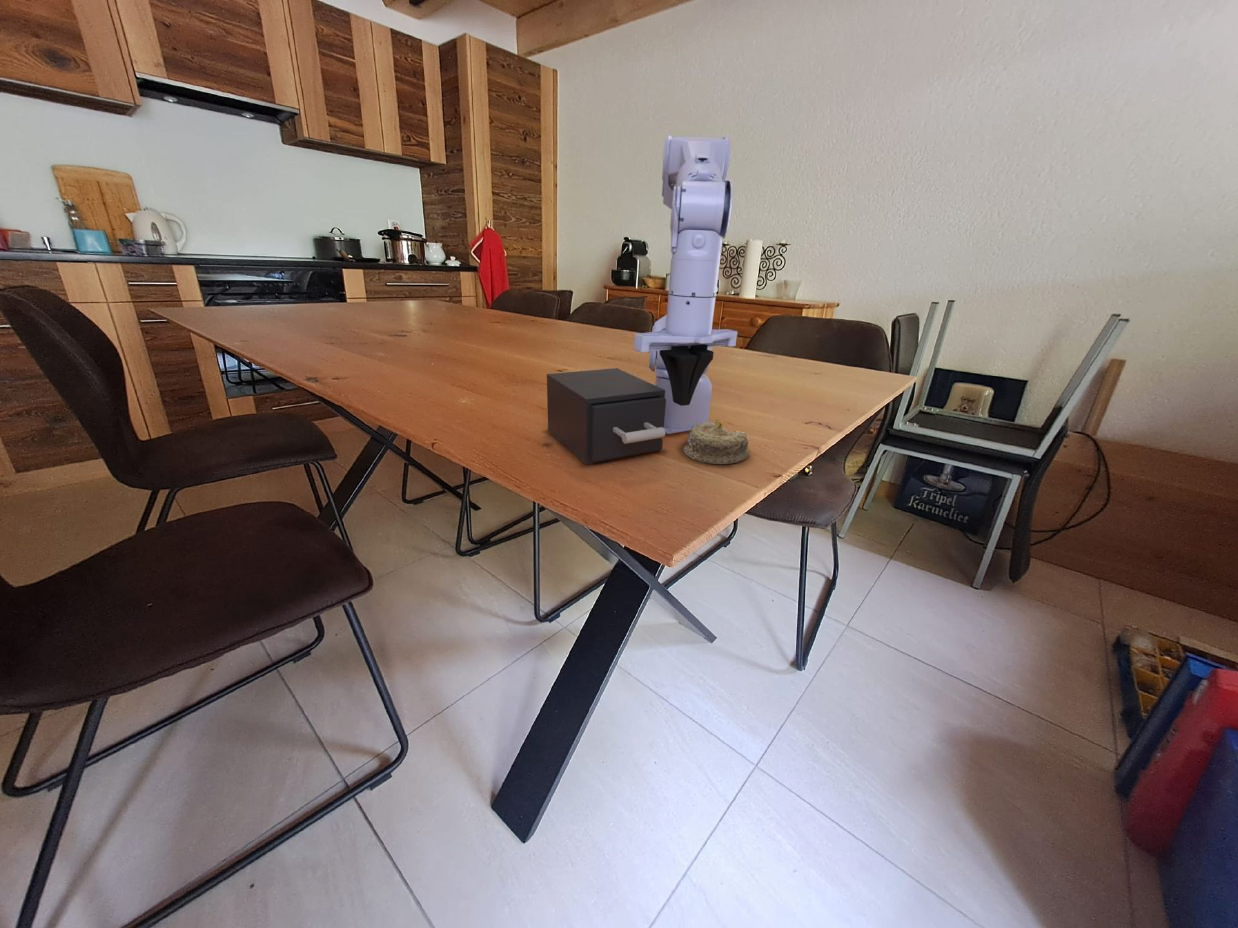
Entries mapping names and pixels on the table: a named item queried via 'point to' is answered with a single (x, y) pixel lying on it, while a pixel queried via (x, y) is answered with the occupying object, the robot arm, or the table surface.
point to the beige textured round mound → (716, 444)
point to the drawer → (626, 427)
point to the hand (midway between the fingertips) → (681, 403)
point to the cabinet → (575, 396)
